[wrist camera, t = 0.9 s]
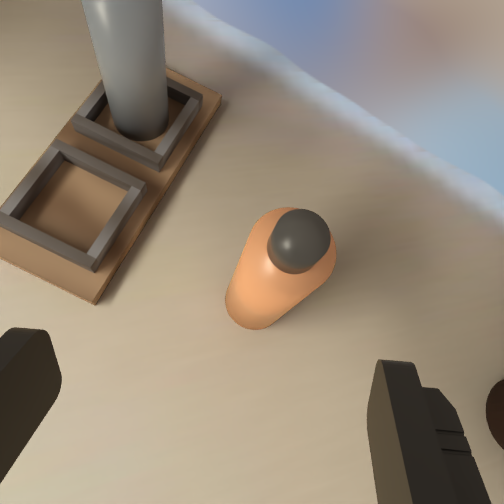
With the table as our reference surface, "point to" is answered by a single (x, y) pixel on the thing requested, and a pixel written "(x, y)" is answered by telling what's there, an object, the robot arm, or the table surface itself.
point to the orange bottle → (279, 266)
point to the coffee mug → (496, 412)
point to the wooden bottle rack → (98, 190)
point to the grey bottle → (131, 63)
